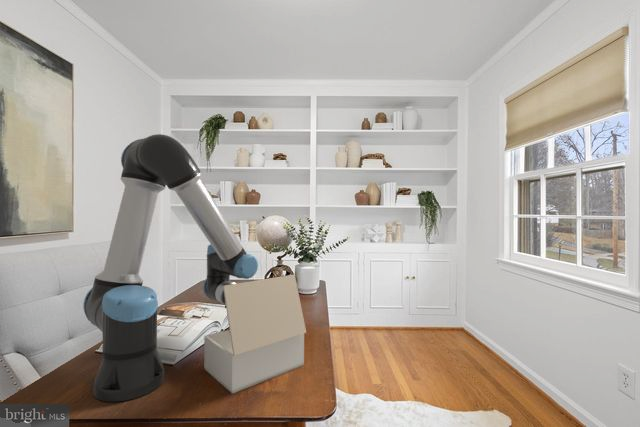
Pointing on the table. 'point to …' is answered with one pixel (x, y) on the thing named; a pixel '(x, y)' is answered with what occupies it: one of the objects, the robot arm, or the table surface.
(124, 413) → the table surface
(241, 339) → the lid flap
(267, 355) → the mailer box
